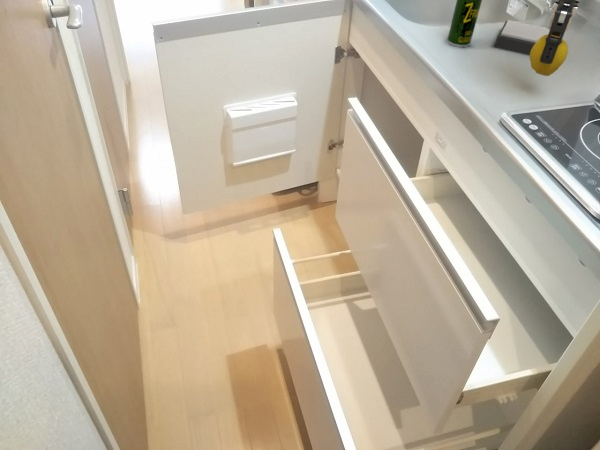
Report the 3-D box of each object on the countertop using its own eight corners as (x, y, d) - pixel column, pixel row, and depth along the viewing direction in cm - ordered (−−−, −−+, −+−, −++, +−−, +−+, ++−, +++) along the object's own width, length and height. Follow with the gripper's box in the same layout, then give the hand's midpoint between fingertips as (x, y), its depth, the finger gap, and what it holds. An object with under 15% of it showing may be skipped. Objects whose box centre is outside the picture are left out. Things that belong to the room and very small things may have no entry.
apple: (525, 63, 104) (538, 24, 99) (559, 69, 102) (574, 29, 97) (522, 77, 100) (536, 36, 94) (557, 84, 98) (573, 42, 93)
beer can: (442, 40, 123) (454, -13, 115) (459, 36, 125) (472, -16, 117) (457, 49, 120) (470, -4, 111) (474, 45, 122) (489, -8, 113)
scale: (553, 41, 125) (558, 28, 123) (547, 58, 118) (552, 45, 116) (502, 30, 129) (506, 18, 127) (494, 46, 122) (498, 33, 119)
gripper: (604, -24, 81) (564, 75, 93) (608, -47, 91) (572, 45, 102) (554, -32, 84) (521, 66, 95) (563, -54, 93) (532, 37, 104)
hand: (547, 55), depth 98 cm, fingers closed on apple, 6 cm apart
